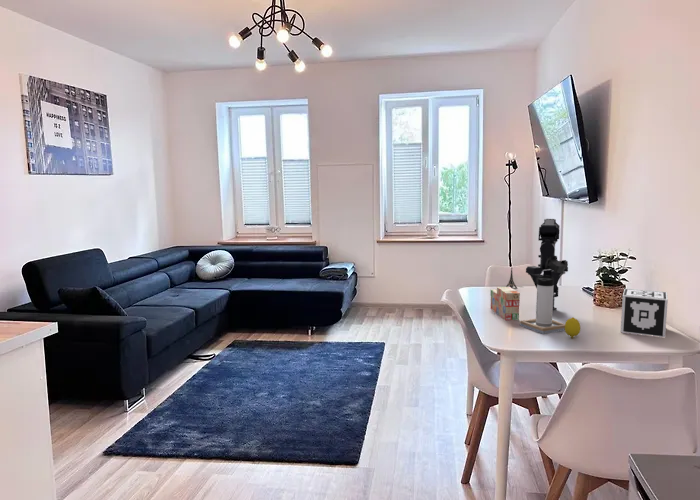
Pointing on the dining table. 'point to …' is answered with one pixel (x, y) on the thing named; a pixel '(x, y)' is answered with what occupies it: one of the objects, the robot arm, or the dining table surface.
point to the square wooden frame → (532, 325)
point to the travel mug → (544, 301)
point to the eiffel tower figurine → (511, 282)
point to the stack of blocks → (505, 302)
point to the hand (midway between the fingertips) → (546, 288)
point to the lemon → (572, 327)
